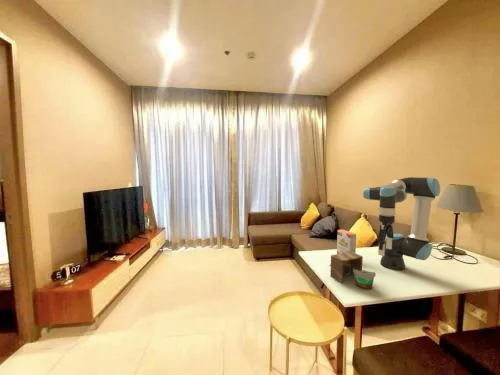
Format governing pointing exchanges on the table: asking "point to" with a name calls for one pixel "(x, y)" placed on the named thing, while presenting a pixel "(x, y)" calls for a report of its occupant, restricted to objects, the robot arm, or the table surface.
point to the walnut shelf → (345, 264)
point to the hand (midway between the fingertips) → (385, 251)
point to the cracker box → (346, 241)
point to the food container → (364, 279)
